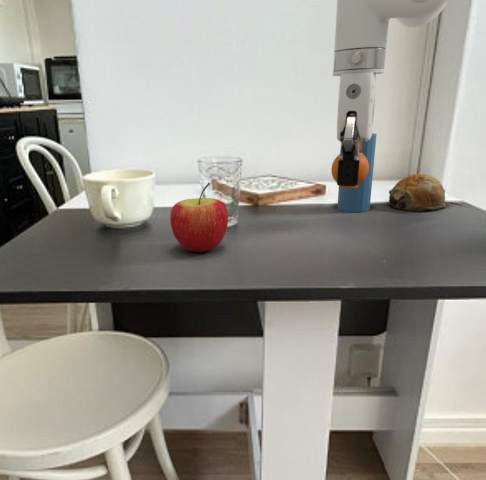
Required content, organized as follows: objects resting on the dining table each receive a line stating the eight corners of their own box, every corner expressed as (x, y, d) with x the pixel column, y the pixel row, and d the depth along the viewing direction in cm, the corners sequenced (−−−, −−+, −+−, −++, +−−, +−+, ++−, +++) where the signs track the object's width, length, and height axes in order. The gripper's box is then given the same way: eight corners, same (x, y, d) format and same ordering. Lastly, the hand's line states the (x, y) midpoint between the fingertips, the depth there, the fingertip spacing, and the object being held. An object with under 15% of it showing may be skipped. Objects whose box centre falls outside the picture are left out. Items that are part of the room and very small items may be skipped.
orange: (350, 182, 78) (353, 147, 76) (375, 187, 73) (378, 150, 71) (323, 186, 76) (325, 150, 74) (346, 191, 71) (349, 153, 68)
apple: (230, 257, 62) (228, 186, 58) (170, 259, 62) (165, 189, 58) (227, 240, 70) (225, 177, 66) (174, 242, 70) (169, 179, 66)
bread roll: (438, 230, 82) (465, 191, 79) (389, 207, 82) (413, 168, 79) (423, 217, 91) (446, 182, 88) (378, 197, 91) (400, 161, 88)
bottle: (354, 204, 90) (362, 110, 83) (376, 209, 84) (386, 110, 78) (331, 207, 87) (336, 112, 81) (351, 213, 82) (359, 111, 76)
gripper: (382, 58, 59) (369, 192, 65) (386, 65, 73) (375, 174, 80) (325, 62, 61) (318, 190, 68) (340, 68, 76) (333, 173, 83)
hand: (349, 180), depth 74 cm, fingers closed on orange, 6 cm apart
